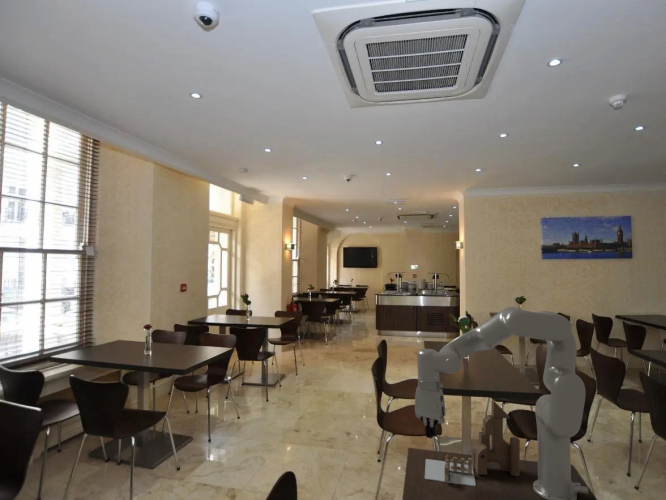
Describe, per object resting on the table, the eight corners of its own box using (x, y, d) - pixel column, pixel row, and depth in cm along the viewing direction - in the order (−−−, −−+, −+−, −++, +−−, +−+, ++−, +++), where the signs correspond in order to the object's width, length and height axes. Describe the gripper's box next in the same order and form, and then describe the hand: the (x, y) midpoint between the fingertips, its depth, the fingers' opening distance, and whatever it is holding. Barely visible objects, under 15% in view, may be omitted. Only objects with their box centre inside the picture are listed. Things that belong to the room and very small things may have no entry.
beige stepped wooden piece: (445, 469, 142) (445, 454, 142) (449, 469, 142) (449, 455, 142) (444, 482, 134) (444, 467, 134) (448, 483, 133) (448, 467, 133)
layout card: (472, 465, 146) (472, 464, 146) (475, 486, 132) (475, 485, 132) (425, 459, 150) (425, 458, 150) (424, 479, 137) (424, 478, 137)
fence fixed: (471, 474, 140) (471, 458, 140) (471, 476, 139) (471, 459, 139) (450, 471, 142) (450, 455, 142) (450, 473, 141) (450, 457, 141)
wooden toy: (477, 475, 139) (478, 404, 140) (471, 465, 145) (472, 398, 146) (521, 477, 138) (521, 406, 139) (513, 467, 145) (513, 399, 146)
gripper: (453, 385, 137) (455, 438, 136) (414, 378, 146) (416, 428, 145) (444, 391, 131) (446, 446, 130) (405, 383, 140) (406, 435, 140)
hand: (430, 436), depth 138 cm, fingers closed
